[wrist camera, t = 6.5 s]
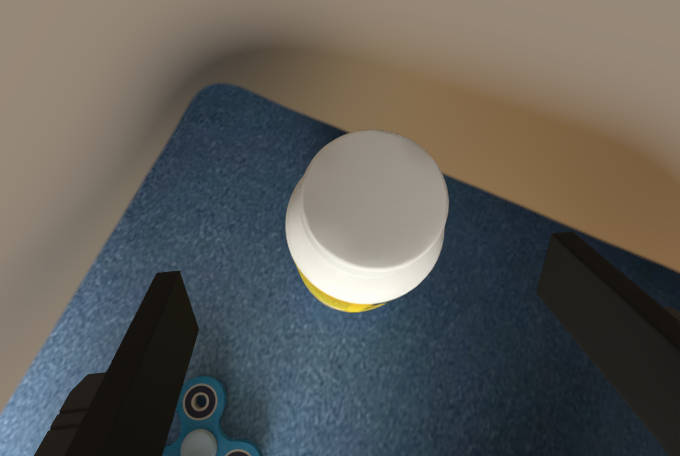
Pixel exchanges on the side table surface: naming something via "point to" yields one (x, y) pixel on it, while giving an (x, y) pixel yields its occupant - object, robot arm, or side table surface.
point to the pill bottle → (367, 220)
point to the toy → (205, 423)
